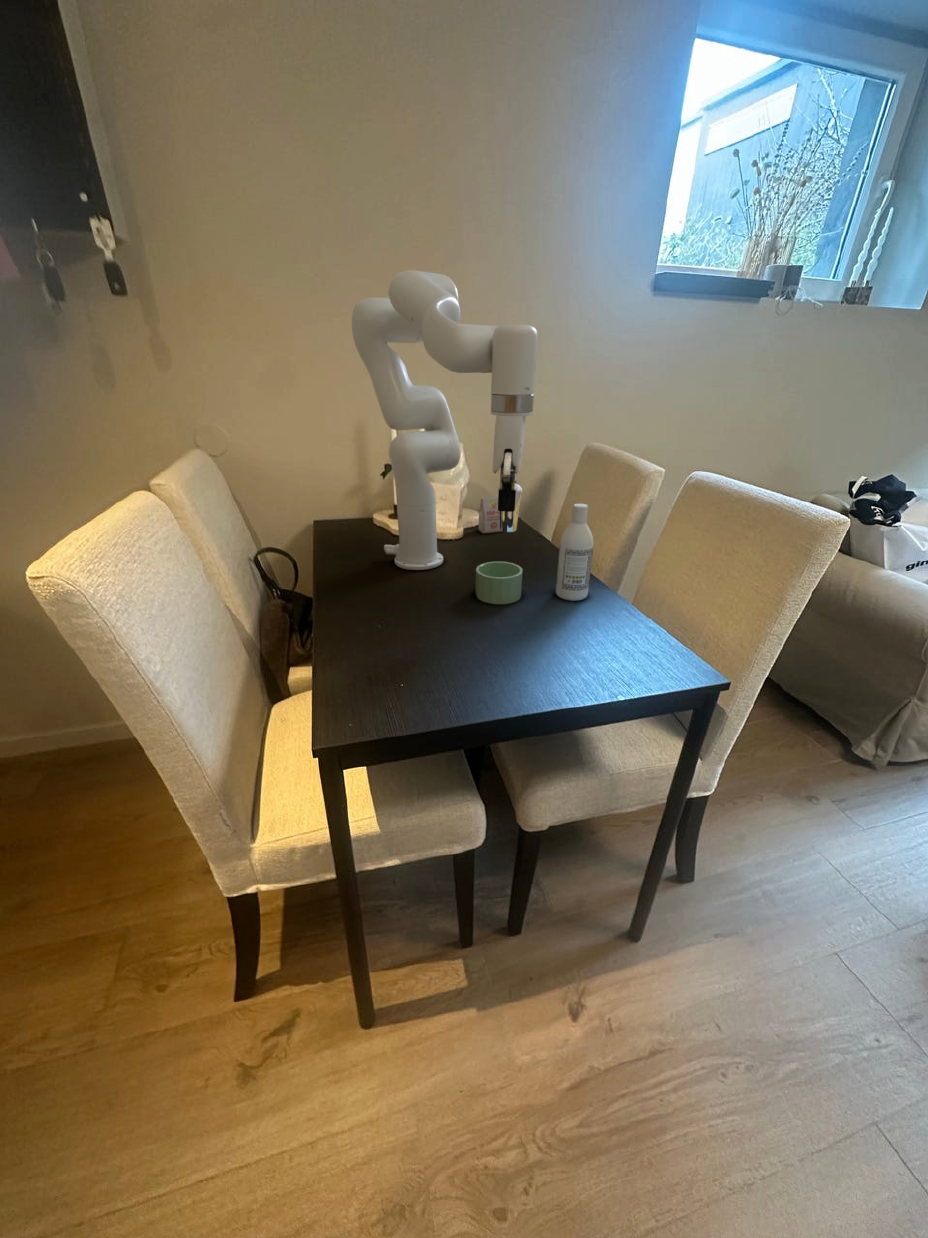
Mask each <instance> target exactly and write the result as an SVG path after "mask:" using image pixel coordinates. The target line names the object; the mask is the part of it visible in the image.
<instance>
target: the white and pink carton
mask: <svg viewBox="0 0 928 1238" xmlns="http://www.w3.org/2000/svg"><path fill="white" fill-rule="evenodd" d="M478 531H479V532H480V533H482V534H491V533H501V532H503V531H501V530H500V511H498V497H489V498H481V499H480V504H479V509H478Z"/></svg>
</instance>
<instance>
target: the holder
mask: <svg viewBox="0 0 928 1238" xmlns="http://www.w3.org/2000/svg"><path fill="white" fill-rule="evenodd" d="M523 571H524V569H523V568H522V566H520V565H518V564H516V563H514V562H508V561H500V560H499V561H497V560H496V561H487V562H484V563H480V564H479V565H477V566H476V568H475V596H476V598H477V599H478V600H479V601H481V602H482V603H487V604H492V605H508V604H509V605H510V604H512V603H515V602H518V601H520V600H521V597H522V586H523V573H524V572H523Z"/></svg>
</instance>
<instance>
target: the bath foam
mask: <svg viewBox="0 0 928 1238" xmlns="http://www.w3.org/2000/svg"><path fill="white" fill-rule="evenodd" d="M588 511H589V505H588V504H586V503H574V504H573V506H572V515H571V522H570V523H569V525H568V526H567V527H566V529H565V530H564V532H563V533H562V535H561V539H560V542H559V550H558V560H557V571H556V572H557V574H556V585H555V594H556V596H557V597H558V598H560V599H562V600H565V601H573V602H575V601H582V600H584V599H586V598H587V597H588V595H589V586H590V580H591V570H592V561H593V554H594V546H595V545H594V537H593V533H592V531H591V529H590V527H589V525H588V523H587V520H588Z"/></svg>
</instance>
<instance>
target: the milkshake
mask: <svg viewBox="0 0 928 1238" xmlns="http://www.w3.org/2000/svg"><path fill="white" fill-rule="evenodd" d="M494 481H495V485H496V487H497V489H498V491H499V489H500V486H499V487H498V483H497V482H496V480H494ZM515 490H516V498H515V511H514V512H506V511H500V530H501V531H502V532H504V533H514V532H516V531H517V530H518V521H519V514H520V507H521V505H520V504H521V500H522V493H523V488H522V486H521V485H520V484H518V483H517V482H516V483H515Z"/></svg>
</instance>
